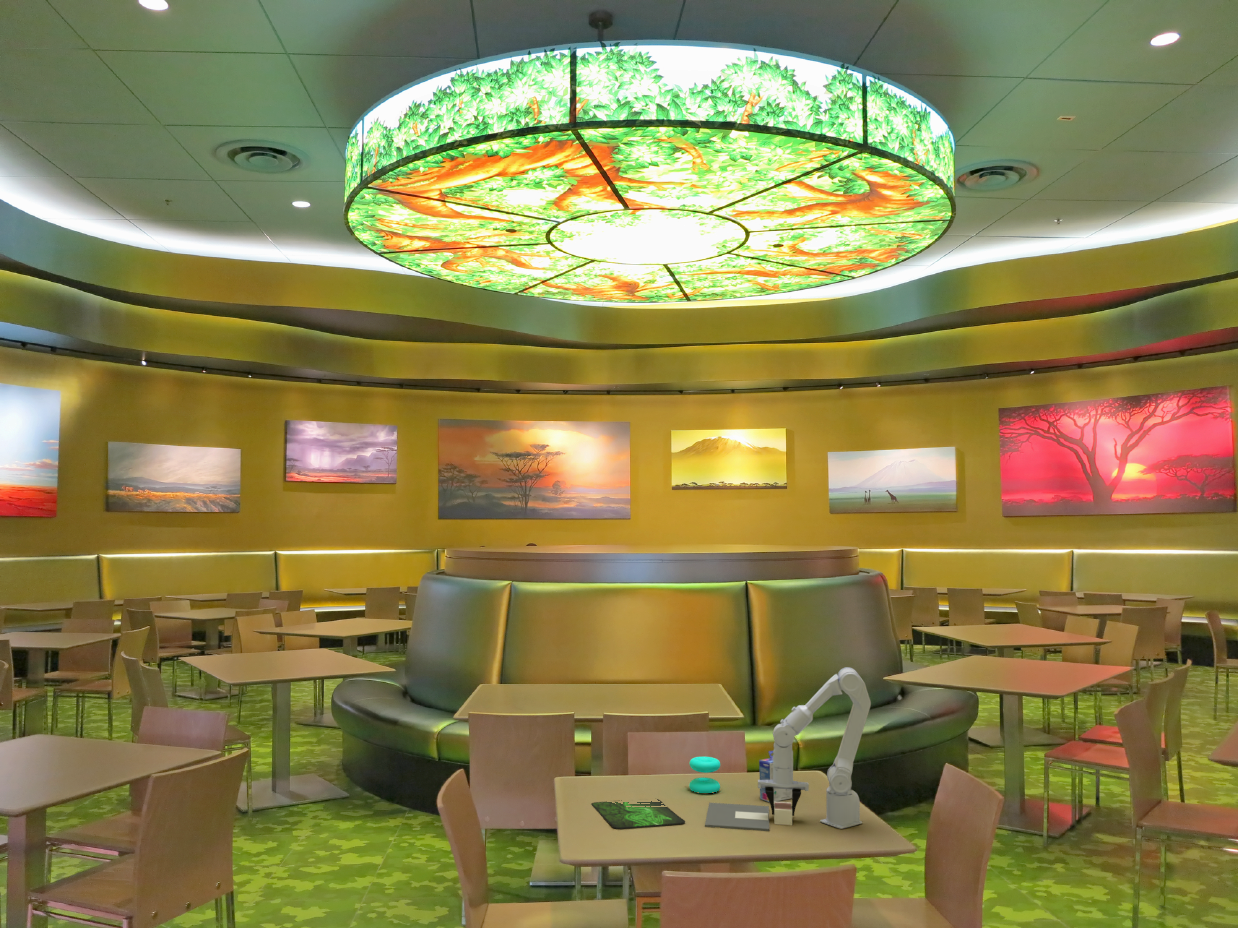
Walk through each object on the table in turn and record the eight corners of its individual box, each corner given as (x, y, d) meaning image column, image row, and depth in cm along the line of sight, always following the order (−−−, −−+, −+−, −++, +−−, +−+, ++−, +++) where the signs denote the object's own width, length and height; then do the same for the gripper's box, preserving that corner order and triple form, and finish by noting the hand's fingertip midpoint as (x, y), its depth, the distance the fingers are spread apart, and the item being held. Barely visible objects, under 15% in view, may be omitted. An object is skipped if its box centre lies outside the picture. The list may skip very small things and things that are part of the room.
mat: (768, 808, 277) (768, 805, 277) (769, 830, 256) (769, 828, 256) (709, 804, 280) (709, 802, 280) (704, 826, 258) (704, 824, 258)
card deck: (791, 816, 270) (791, 802, 270) (792, 825, 261) (792, 810, 262) (774, 815, 270) (774, 801, 271) (774, 823, 262) (774, 809, 262)
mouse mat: (588, 803, 280) (588, 800, 280) (656, 798, 286) (656, 795, 286) (614, 831, 254) (614, 827, 254) (687, 825, 260) (687, 821, 260)
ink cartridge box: (781, 794, 293) (781, 748, 294) (793, 798, 288) (793, 751, 289) (758, 798, 287) (758, 751, 288) (770, 803, 283) (770, 755, 284)
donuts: (687, 761, 292) (692, 754, 302) (686, 793, 292) (691, 785, 301) (718, 763, 290) (722, 756, 300) (718, 796, 289) (721, 787, 299)
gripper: (807, 764, 270) (807, 811, 269) (758, 761, 272) (757, 808, 271) (808, 770, 263) (808, 818, 262) (758, 767, 265) (757, 815, 264)
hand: (782, 814), depth 266 cm, fingers closed on card deck, 5 cm apart
